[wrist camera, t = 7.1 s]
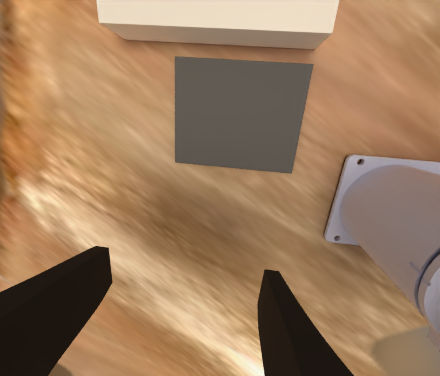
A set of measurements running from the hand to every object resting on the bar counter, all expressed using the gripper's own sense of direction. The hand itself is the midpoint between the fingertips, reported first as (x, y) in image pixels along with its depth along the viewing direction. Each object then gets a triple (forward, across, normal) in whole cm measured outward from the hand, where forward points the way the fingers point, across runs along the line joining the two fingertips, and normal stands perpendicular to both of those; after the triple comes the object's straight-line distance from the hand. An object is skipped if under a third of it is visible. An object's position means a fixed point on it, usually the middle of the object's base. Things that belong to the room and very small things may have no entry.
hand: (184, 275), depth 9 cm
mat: (+10, -2, -7) cm, 12 cm away
